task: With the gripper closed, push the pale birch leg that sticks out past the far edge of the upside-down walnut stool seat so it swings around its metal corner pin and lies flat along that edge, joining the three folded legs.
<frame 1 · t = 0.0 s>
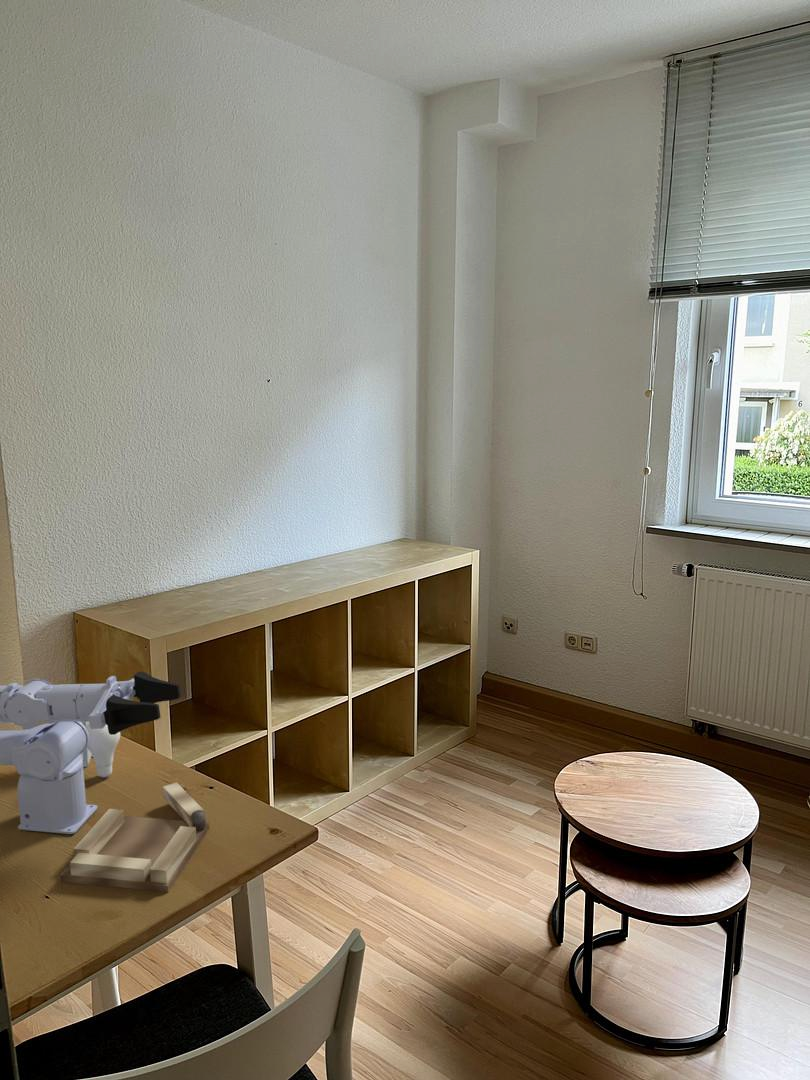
hand: (169, 701, 128), 22 cm above the table, tool horizontal, fingers open, 7 cm apart
lightbulb: (105, 777, 149), on the table
stool seat: (138, 853, 127), on the table
skincare box: (74, 763, 154), on the table
hinged leg: (185, 805, 136), point 2 cm above the table, hinge at -45.0°
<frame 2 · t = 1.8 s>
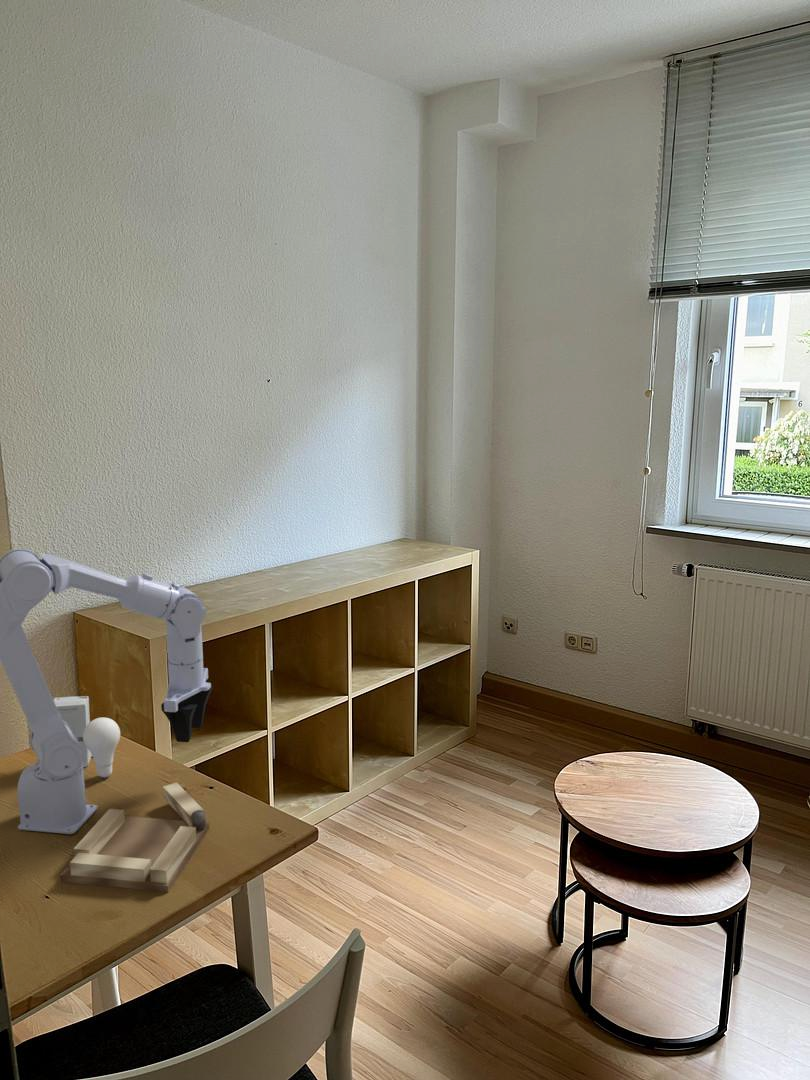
hand: (189, 733, 145), 9 cm above the table, tool pointing down, fingers open, 5 cm apart
nothing on the table moved.
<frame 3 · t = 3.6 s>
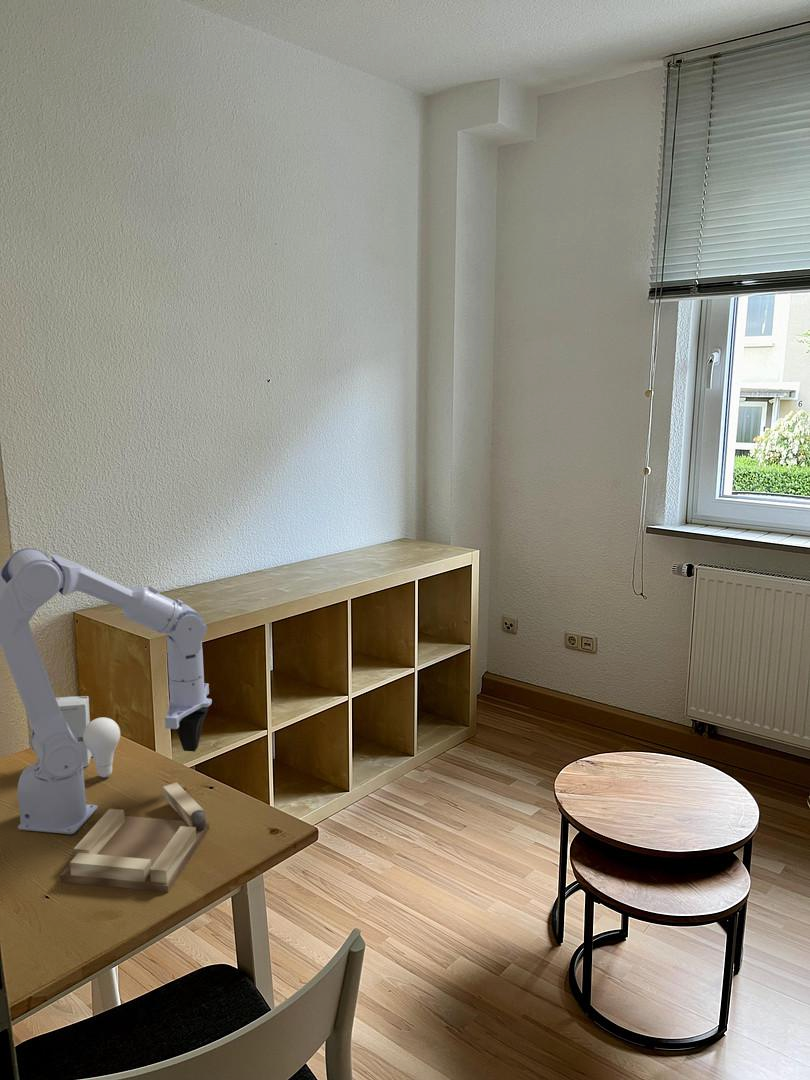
hand: (190, 749, 146), 6 cm above the table, tool pointing down, fingers closed
nothing on the table moved.
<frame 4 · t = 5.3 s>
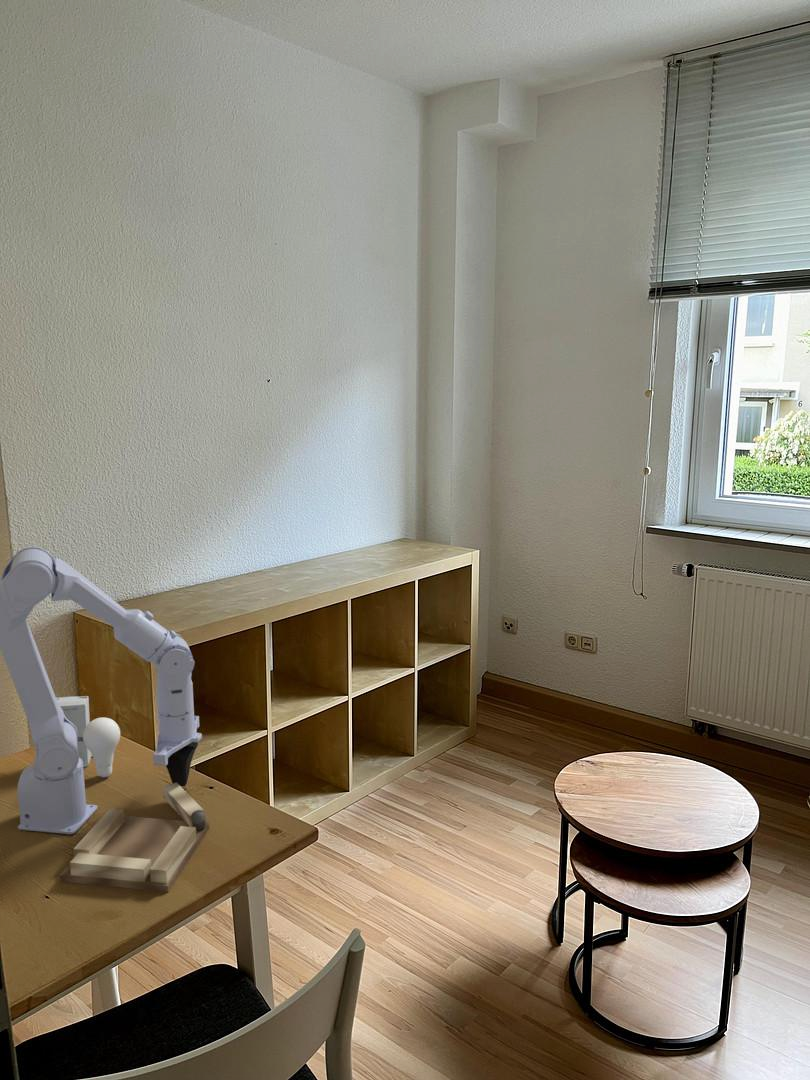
hand: (179, 784, 142), 2 cm above the table, tool pointing down, fingers closed, pressing on hinged leg
hinged leg: (185, 805, 136), point 2 cm above the table, hinge at -44.9°, touching gripper
everything else where it was.
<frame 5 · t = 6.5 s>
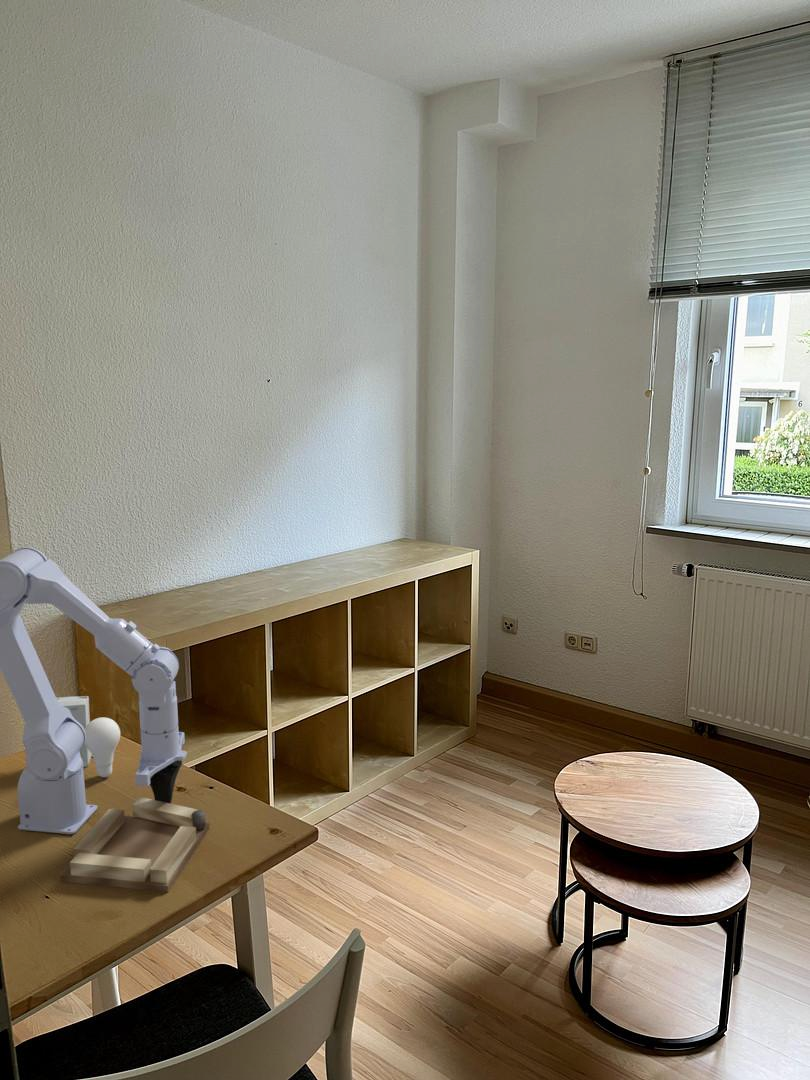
hand: (163, 804, 136), 2 cm above the table, tool pointing down, fingers closed, pressing on hinged leg
hinged leg: (170, 813, 133), point 2 cm above the table, hinge at -12.0°, touching gripper
everything else where it was.
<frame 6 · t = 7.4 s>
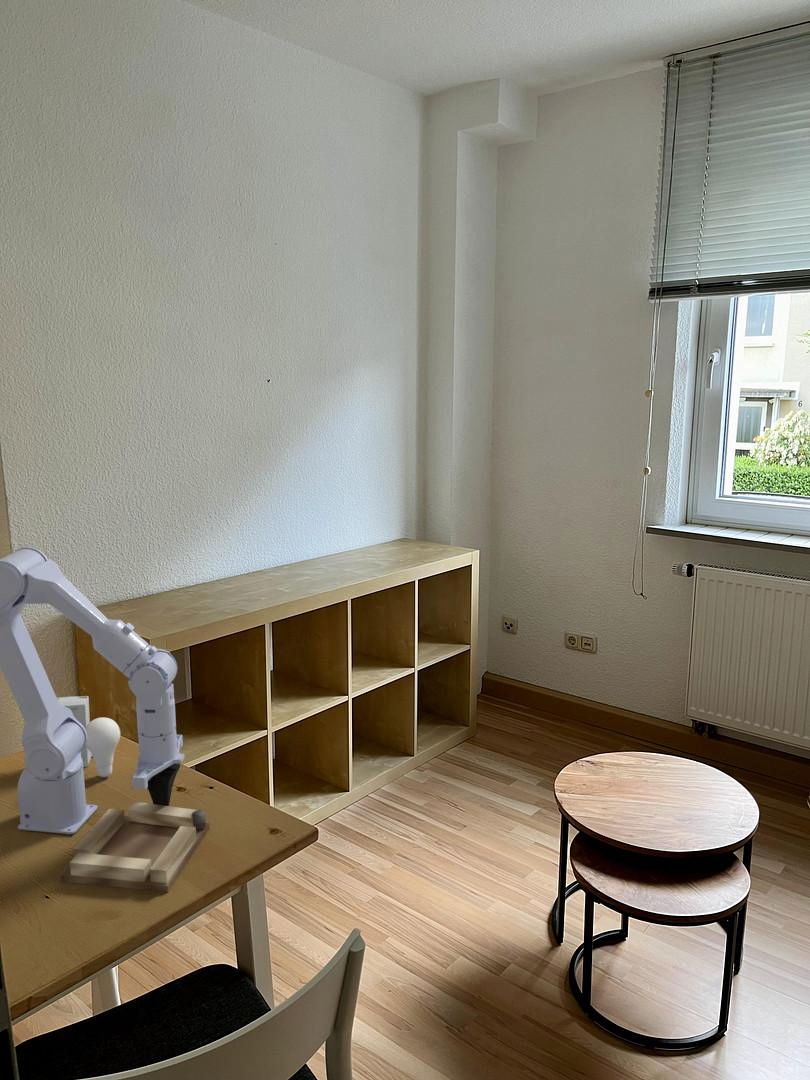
hand: (161, 807, 135), 2 cm above the table, tool pointing down, fingers closed
hinged leg: (167, 815, 133), point 2 cm above the table, hinge at -4.5°, touching gripper
everything else where it was.
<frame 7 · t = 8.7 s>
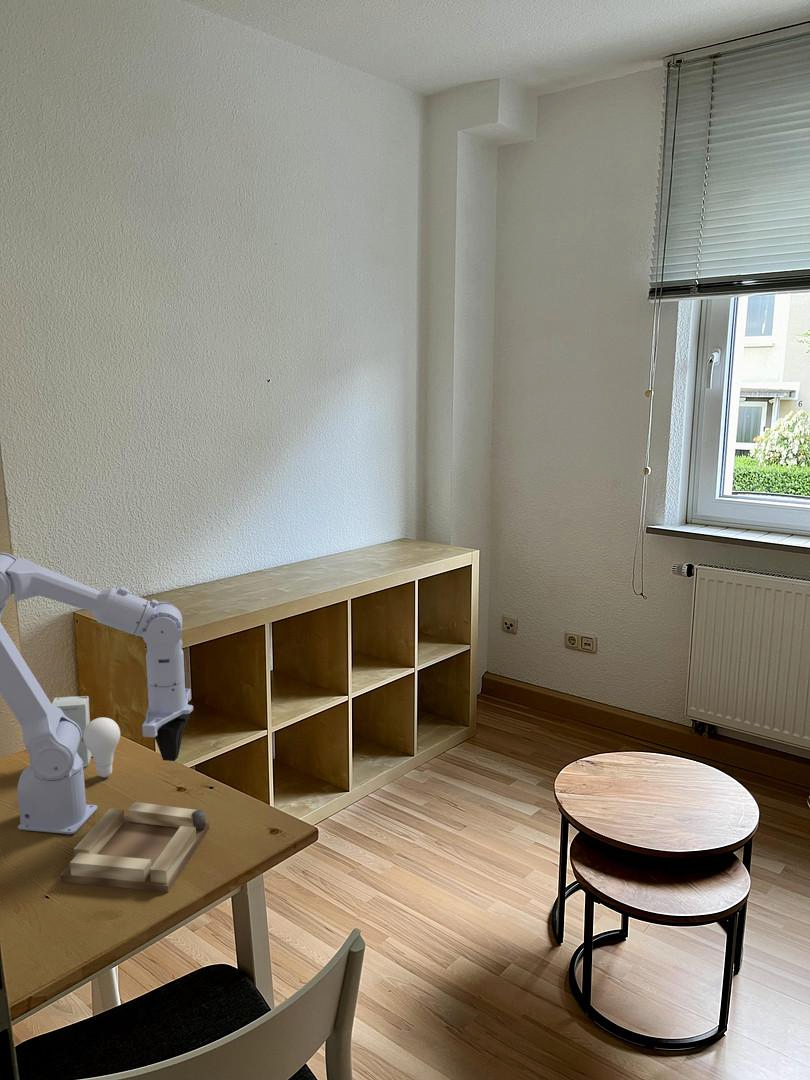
hand: (170, 758, 137), 9 cm above the table, tool pointing down, fingers closed
hinged leg: (167, 815, 133), point 2 cm above the table, hinge at -4.3°
everything else where it was.
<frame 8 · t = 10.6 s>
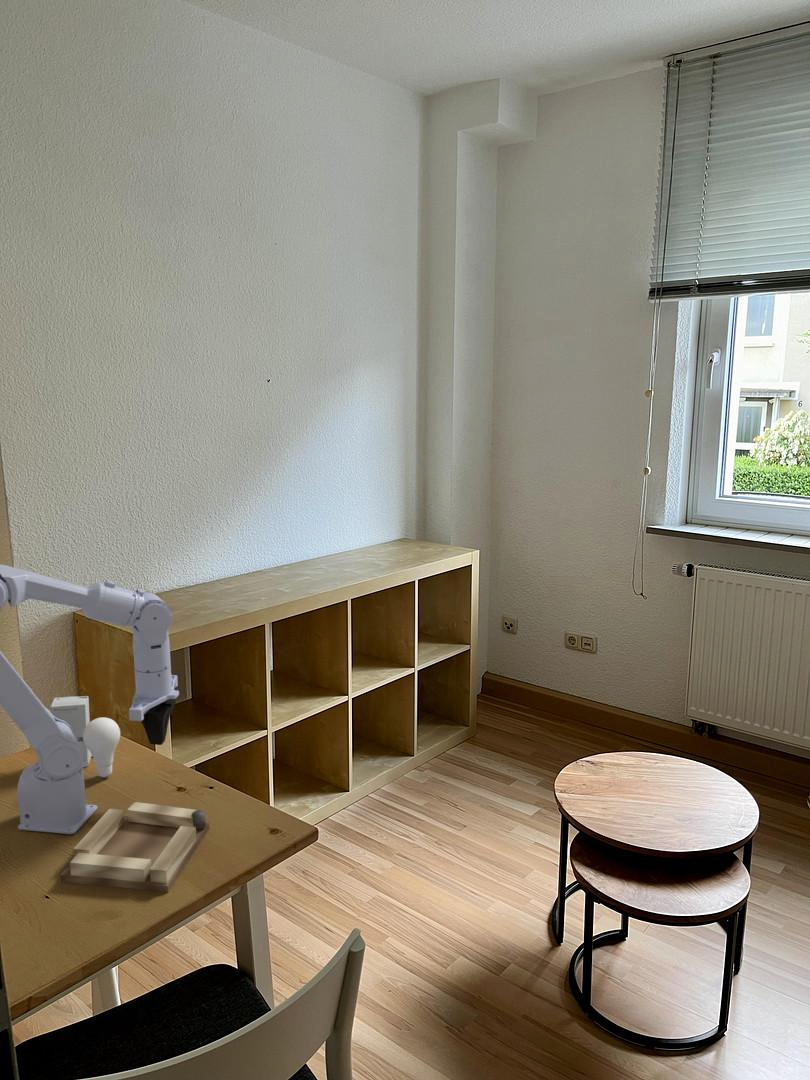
hand: (157, 742, 142), 9 cm above the table, tool pointing down, fingers closed
nothing on the table moved.
at the end: hinged leg at -4° (first picture: -45°); lightbulb moved 0.2 cm from its start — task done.
